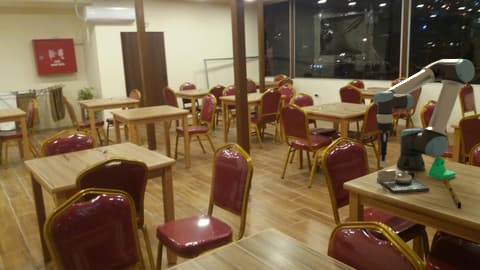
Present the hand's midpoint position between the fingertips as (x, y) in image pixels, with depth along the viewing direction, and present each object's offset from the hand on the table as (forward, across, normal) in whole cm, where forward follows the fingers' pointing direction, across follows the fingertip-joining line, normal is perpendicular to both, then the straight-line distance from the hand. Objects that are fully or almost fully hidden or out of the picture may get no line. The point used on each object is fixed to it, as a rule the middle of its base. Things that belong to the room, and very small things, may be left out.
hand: (382, 166), depth 205 cm
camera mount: (+9, -14, +31) cm, 35 cm away
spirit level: (+9, +13, +30) cm, 34 cm away
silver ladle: (+6, +5, +6) cm, 10 cm away
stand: (+9, +4, +9) cm, 14 cm away
